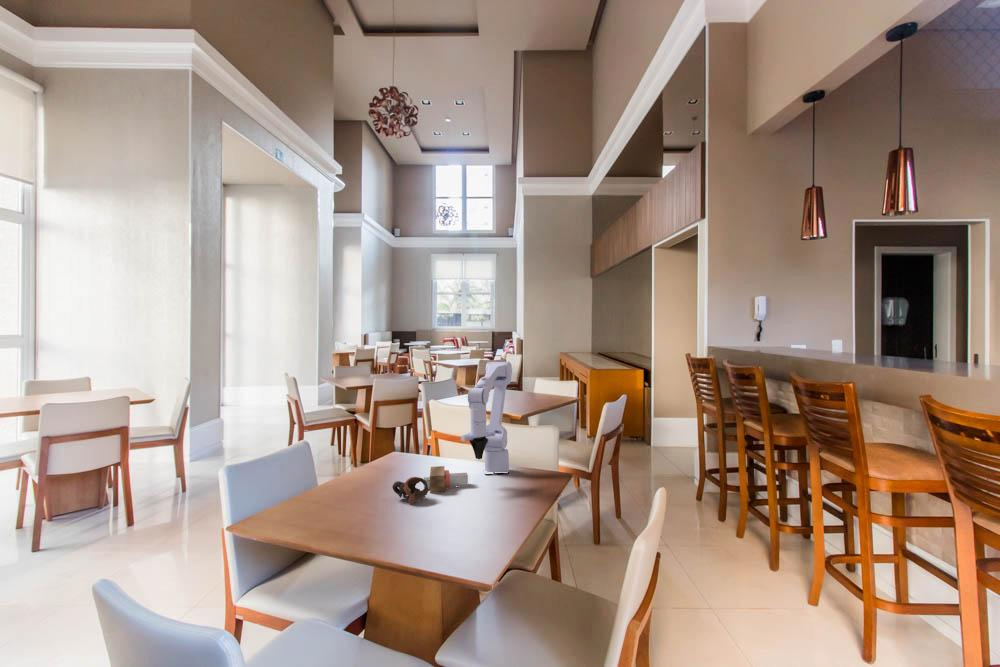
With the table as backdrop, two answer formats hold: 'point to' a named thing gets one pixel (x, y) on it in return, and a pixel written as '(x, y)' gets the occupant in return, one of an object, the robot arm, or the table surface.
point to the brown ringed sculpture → (411, 489)
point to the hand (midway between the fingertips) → (478, 458)
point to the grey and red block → (452, 479)
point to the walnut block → (437, 479)
